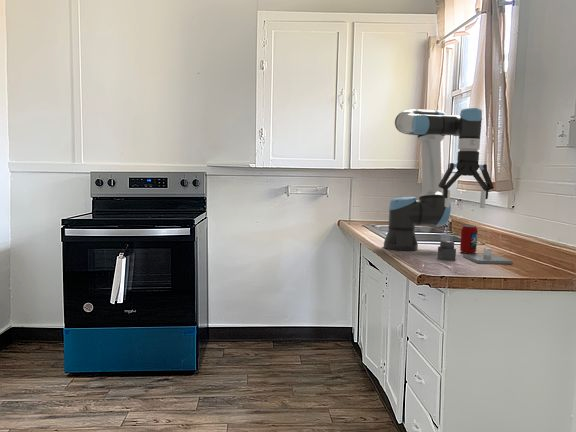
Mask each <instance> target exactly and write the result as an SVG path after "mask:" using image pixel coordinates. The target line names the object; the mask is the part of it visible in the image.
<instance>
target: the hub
mask: <svg viewBox="0 0 576 432" xmlns="http://www.w3.org/2000/svg"><path fill="white" fill-rule="evenodd" d="M492 251H493V249H492V248H491V247H483V254H475V253H472V254H469V253H463V255H462V257H463V258H464V259H466V260H469V261H471V262H474V263H476V264H484V265H485V264H490V265H492V264H493V265H513V264H514V263H513V260H511V259H508V258H506V257H503V256H500V255H497V254H492V253H493V252H492Z"/></svg>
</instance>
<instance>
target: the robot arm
mask: <svg viewBox="0 0 576 432" xmlns="http://www.w3.org/2000/svg"><path fill="white" fill-rule="evenodd" d="M482 120H483V110H482V109H481V108H480V107H479V108H478V107H464V108H462V109H461V110H460V114H459V115H447V114H446V113H445V112H444V111H443V110H437V109H407V110H403V111H401V112H399V113H398V114H397V116H396V117H395V119H394V127H395V128H396V130H397V131H399V133H402V134H405V135H409V136H417V141H418V142H419V143H420V144H421V145H420V146H421V186H422V187H421V189H422V191H421V194H420V195H419V196H418V199H417V197H416V196H401V197H394V198H392V199H390V202H389V206H388V207H389V208H388V211H389V212H388V231H387V234H386V235H385V238H384V242H383V248H384V249H388V250H393V251H403V252H405V251H407V252H408V251H417V250H418V249H419V248H418V246H419V245H418V243H419V242H418V240H417V237H416V233H415V231H416V230H415V228H416V226H417V227H443V226H445V225H446V224H447V223H448V221H449V219H450V215H451V210H452V206H451V202H450V199H451V189H449V188H450V187H451V186H452V185H453V184H454V183H455V182H456V181H457V180H458V179H459V178H460V177H461V176H472V177H473V178H474V180H476V182H477V183H478V184H479V186H480V187H481V190H480V200H479V208H480V209H485V208H486V200H488V198H489V192H490V191H491V190H494V188H495V187H494V183H493V181H492V180H491V177H490V174H489V171H488V166H487V165H488V164H486V163H482V164H479V160H480V157H479V156H480V152H479V150H480V145H481V132H482ZM445 136H453V137H458V145H457V150H458V152H457V157H456V158H457V160H456V161H457V162H456V163H454V162H449V163H448V164H447V165H448V166H447V169H446V170H445V173H444V175H443V177H442V152H441V151H442V149H441V148H442V147H441V146H442V143H441V142H442V141H443V140H444V138H445ZM455 169H456V171H455V172H454V175H453V176H452V175H451V174H452V173H453V170H455ZM478 170H480V171H481V174H482V177H483V178H484V180H483V178H482V177H481V175H480V173H479V172H478ZM450 176H452V177H451V178H450ZM449 178H450V179H449Z"/></svg>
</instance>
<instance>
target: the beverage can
mask: <svg viewBox="0 0 576 432" xmlns="http://www.w3.org/2000/svg"><path fill="white" fill-rule="evenodd" d="M460 229H461V231H460V246H459V251H461V253H463V254H475V253H476V252H477V246H478V230H479V229H478V228H477V225H473V224H464V225H462V227H461V228H460Z"/></svg>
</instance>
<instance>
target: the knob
mask: <svg viewBox="0 0 576 432" xmlns="http://www.w3.org/2000/svg"><path fill="white" fill-rule="evenodd" d="M439 241H440V240H439ZM439 244H440V245H439V246H437V258H438V259H439V260H441V261H456V255H457V249H456V248H455V242H454V241H452V240H451V241H450V240H441V241H440V243H439Z"/></svg>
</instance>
